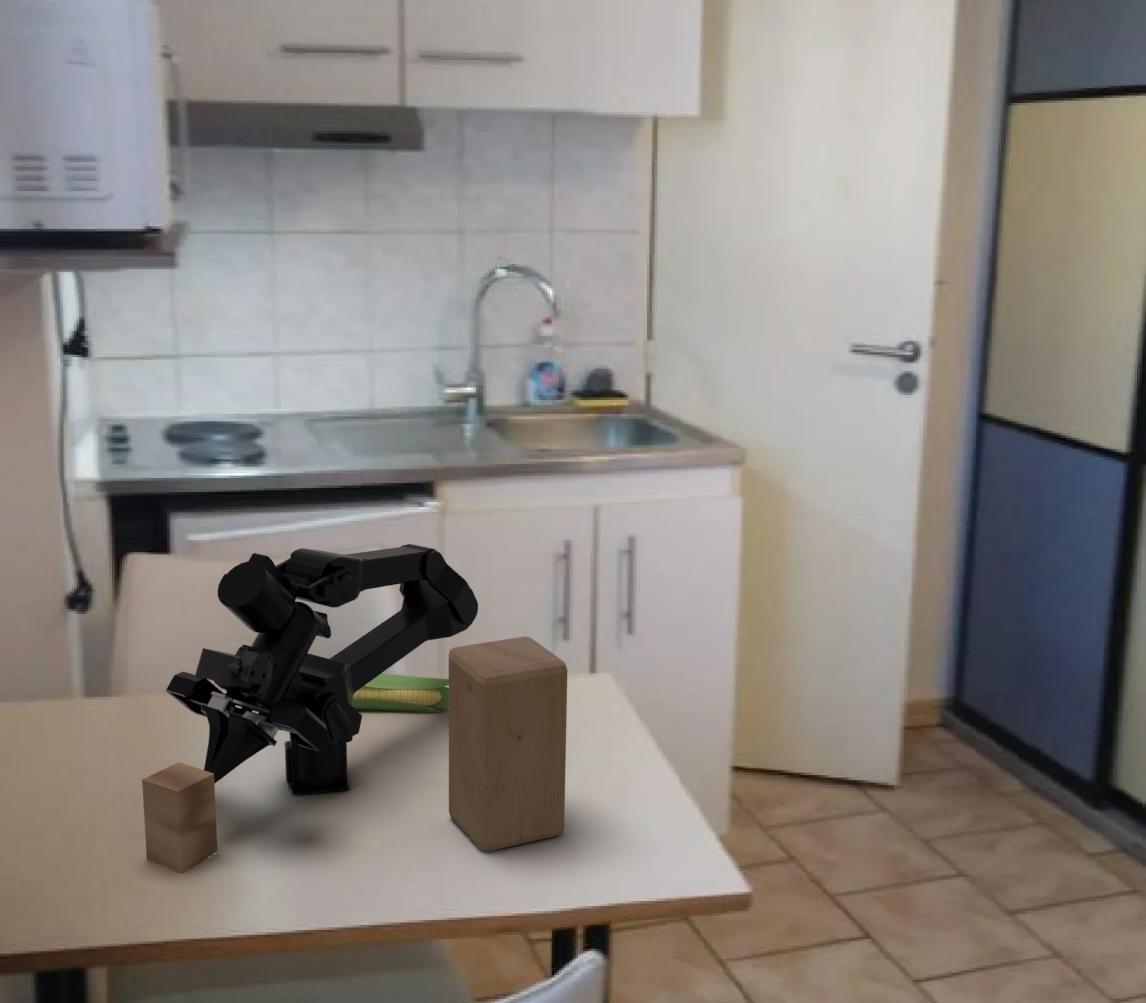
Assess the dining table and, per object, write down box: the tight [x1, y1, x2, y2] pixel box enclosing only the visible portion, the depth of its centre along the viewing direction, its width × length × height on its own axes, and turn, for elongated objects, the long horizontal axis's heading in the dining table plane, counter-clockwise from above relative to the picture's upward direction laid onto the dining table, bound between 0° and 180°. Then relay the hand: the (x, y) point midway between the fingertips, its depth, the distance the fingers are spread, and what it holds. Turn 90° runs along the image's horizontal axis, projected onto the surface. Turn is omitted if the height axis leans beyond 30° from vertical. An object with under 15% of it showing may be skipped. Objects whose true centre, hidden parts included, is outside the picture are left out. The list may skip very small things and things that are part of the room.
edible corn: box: [351, 672, 449, 714], centre depth 191 cm, size 5×20×5 cm
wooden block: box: [448, 636, 568, 852], centre depth 158 cm, size 10×10×20 cm
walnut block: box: [141, 761, 218, 874], centre depth 151 cm, size 5×5×9 cm
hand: (207, 782), depth 154 cm, fingers closed
